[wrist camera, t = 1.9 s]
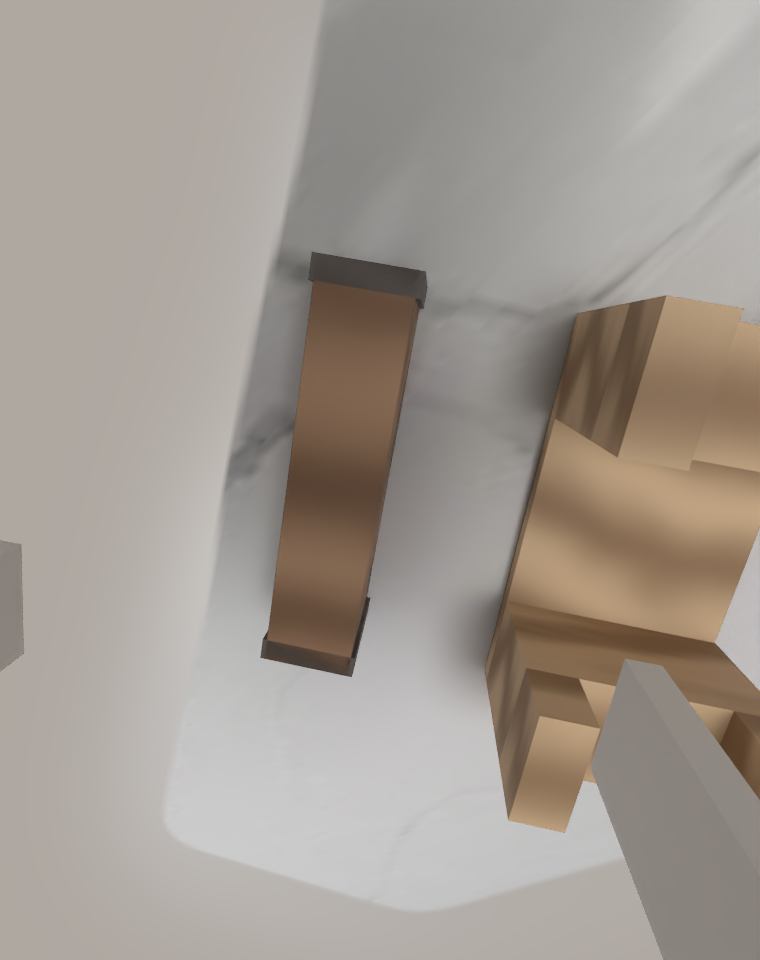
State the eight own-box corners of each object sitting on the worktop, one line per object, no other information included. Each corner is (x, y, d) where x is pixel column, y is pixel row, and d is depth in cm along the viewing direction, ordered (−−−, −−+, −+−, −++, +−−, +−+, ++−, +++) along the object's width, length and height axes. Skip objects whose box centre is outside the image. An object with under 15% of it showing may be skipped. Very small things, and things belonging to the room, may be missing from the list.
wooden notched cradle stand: (577, 313, 25) (666, 295, 16) (812, 353, 25) (1054, 361, 15) (484, 669, 31) (508, 820, 21) (675, 709, 30) (790, 883, 20)
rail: (339, 272, 26) (312, 251, 20) (427, 287, 26) (425, 271, 20) (293, 598, 31) (260, 657, 25) (367, 613, 30) (351, 676, 25)
